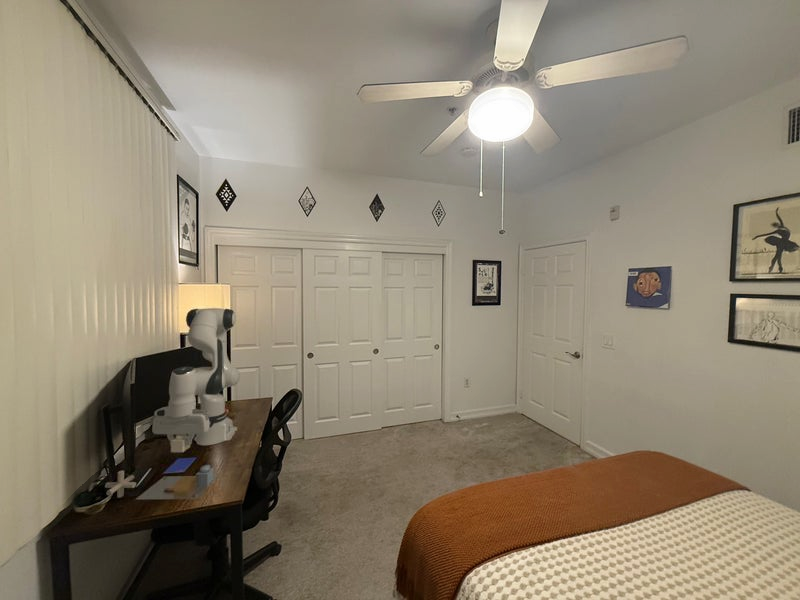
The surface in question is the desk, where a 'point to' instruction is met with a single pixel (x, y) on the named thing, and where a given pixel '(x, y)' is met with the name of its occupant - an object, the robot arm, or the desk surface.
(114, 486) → the pipe connector
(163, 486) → the plate
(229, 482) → the desk surface
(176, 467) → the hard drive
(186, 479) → the pigtail stub
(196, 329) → the robot arm
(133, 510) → the desk surface
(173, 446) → the cream knobbed block
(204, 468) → the blue-grey knobbed block
